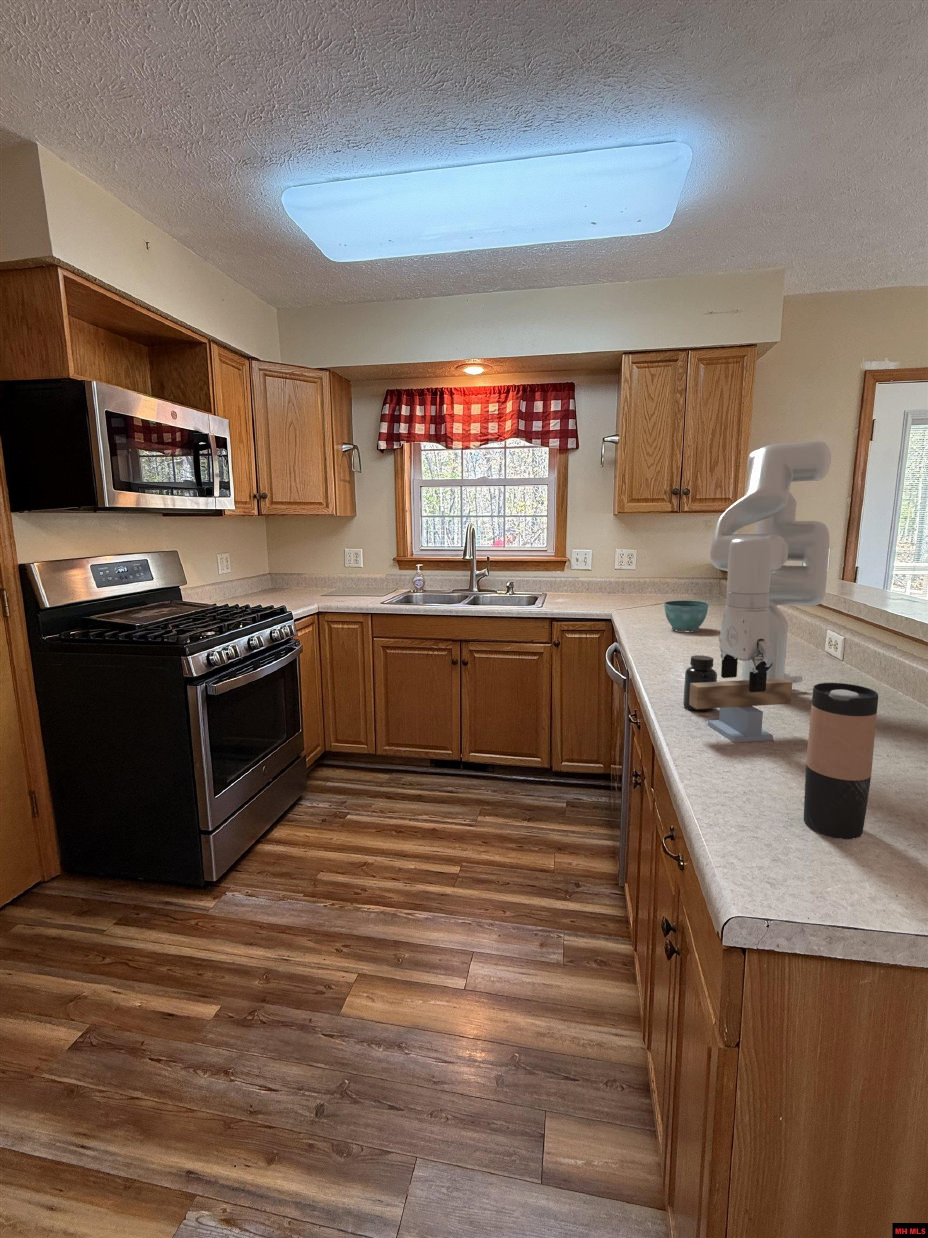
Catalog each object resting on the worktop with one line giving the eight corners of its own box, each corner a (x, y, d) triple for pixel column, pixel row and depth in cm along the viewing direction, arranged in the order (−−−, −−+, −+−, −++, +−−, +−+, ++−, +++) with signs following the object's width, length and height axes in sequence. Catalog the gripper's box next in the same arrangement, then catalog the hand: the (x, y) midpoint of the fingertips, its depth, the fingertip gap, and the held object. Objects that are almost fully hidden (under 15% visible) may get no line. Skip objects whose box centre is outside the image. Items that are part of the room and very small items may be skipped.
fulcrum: (743, 723, 123) (744, 695, 122) (772, 740, 114) (774, 711, 113) (707, 725, 123) (709, 697, 122) (734, 742, 113) (736, 713, 112)
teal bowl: (663, 633, 220) (664, 605, 218) (662, 626, 235) (663, 599, 234) (709, 635, 216) (710, 606, 214) (705, 627, 231) (706, 600, 229)
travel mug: (840, 811, 86) (852, 681, 82) (878, 839, 78) (894, 697, 75) (790, 813, 86) (800, 683, 82) (823, 841, 78) (836, 699, 75)
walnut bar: (781, 699, 120) (782, 678, 119) (790, 703, 117) (792, 682, 116) (689, 704, 118) (690, 683, 117) (696, 709, 115) (697, 687, 114)
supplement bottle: (695, 714, 130) (698, 662, 128) (677, 705, 136) (679, 655, 134) (721, 710, 131) (724, 659, 129) (702, 702, 138) (704, 653, 136)
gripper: (706, 595, 122) (702, 673, 125) (755, 609, 105) (750, 699, 108) (739, 593, 123) (735, 671, 126) (794, 606, 106) (787, 696, 109)
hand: (742, 684), depth 117 cm, fingers open, 9 cm apart
